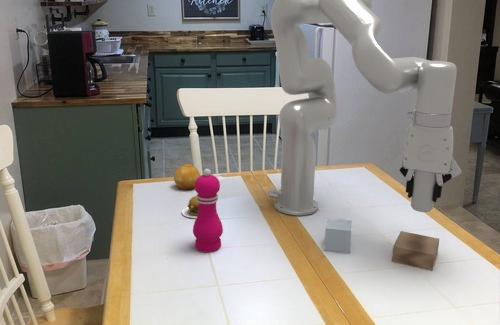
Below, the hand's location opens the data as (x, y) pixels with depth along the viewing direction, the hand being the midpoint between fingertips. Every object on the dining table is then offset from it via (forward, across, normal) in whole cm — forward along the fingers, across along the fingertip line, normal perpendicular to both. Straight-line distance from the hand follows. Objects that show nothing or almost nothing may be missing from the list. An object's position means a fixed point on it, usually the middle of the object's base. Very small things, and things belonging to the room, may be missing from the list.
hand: (422, 197), depth 116 cm
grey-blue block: (+15, -18, -3) cm, 24 cm away
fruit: (+15, -73, +14) cm, 76 cm away
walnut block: (+15, 0, 0) cm, 15 cm away
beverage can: (+3, 0, 0) cm, 3 cm away
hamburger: (+16, -60, -2) cm, 62 cm away
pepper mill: (+15, -46, -18) cm, 52 cm away
